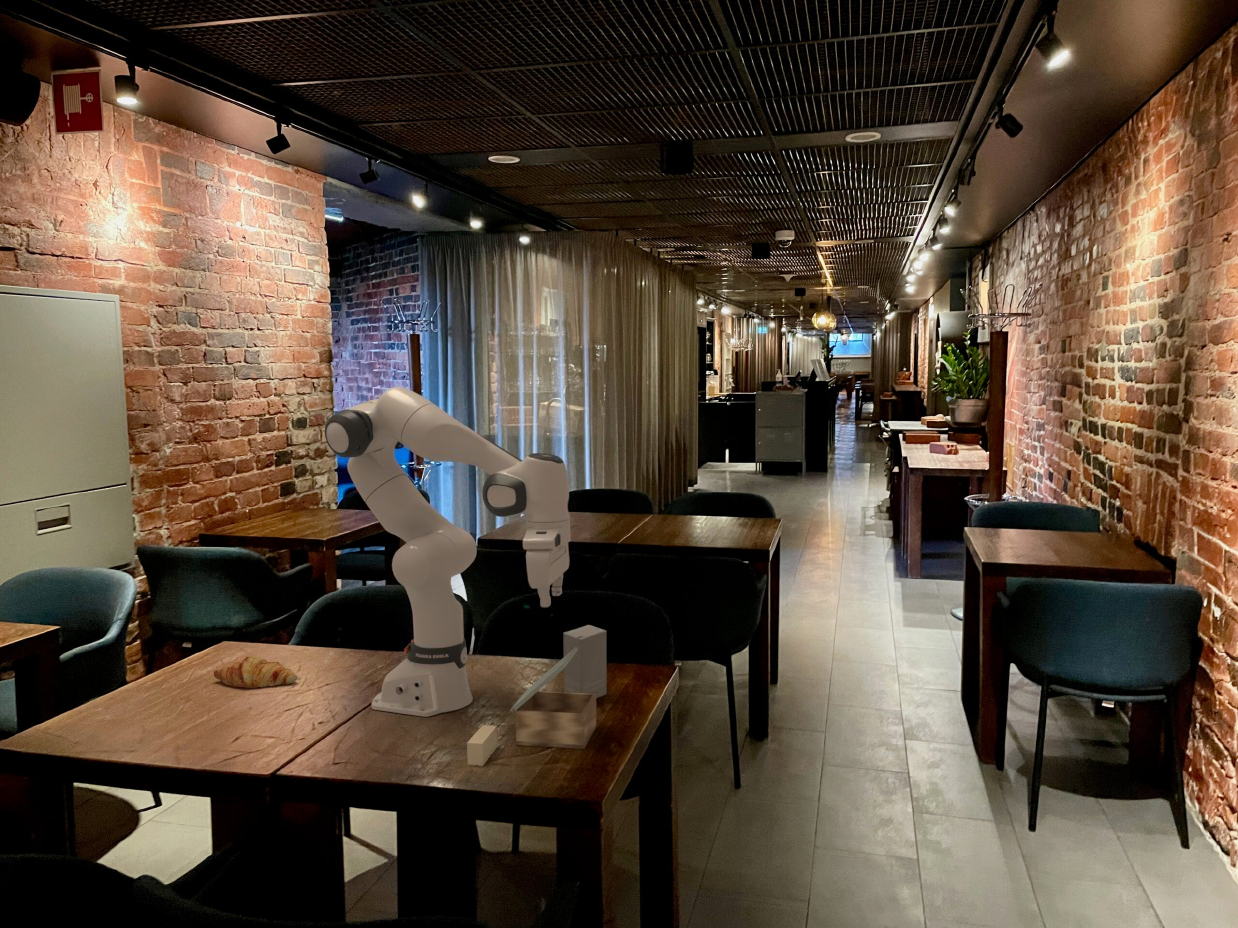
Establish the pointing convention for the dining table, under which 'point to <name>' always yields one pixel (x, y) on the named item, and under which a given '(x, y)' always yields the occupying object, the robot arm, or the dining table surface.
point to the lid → (544, 680)
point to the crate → (556, 720)
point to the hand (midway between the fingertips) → (551, 600)
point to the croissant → (255, 674)
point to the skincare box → (586, 661)
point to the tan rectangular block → (482, 745)
